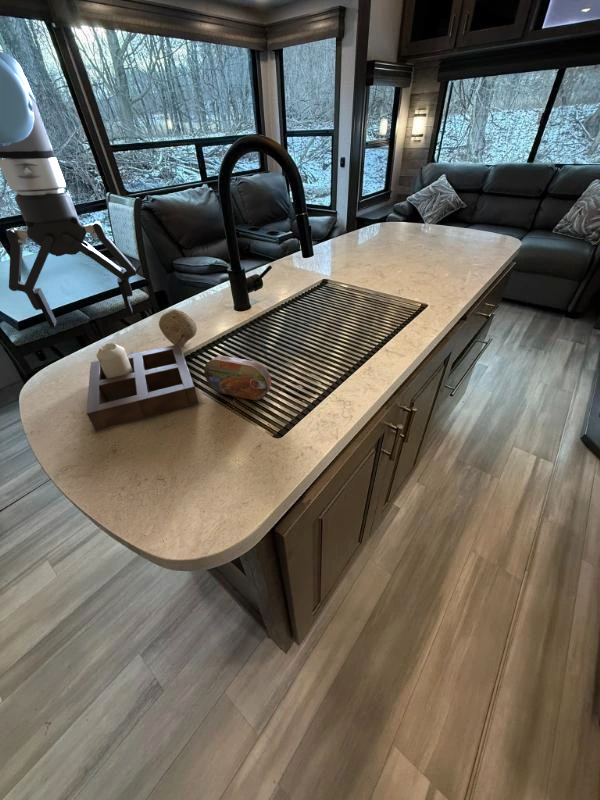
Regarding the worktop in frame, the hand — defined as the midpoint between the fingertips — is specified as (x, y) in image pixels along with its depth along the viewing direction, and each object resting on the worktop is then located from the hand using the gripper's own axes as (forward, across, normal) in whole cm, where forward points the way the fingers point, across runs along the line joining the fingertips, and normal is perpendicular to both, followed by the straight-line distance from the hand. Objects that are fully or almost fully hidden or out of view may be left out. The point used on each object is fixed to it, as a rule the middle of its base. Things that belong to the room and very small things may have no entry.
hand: (93, 318), depth 65 cm
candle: (+17, +1, 0) cm, 17 cm away
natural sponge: (+16, +16, +14) cm, 27 cm away
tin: (+17, +24, -14) cm, 32 cm away
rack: (+16, +5, -4) cm, 18 cm away
